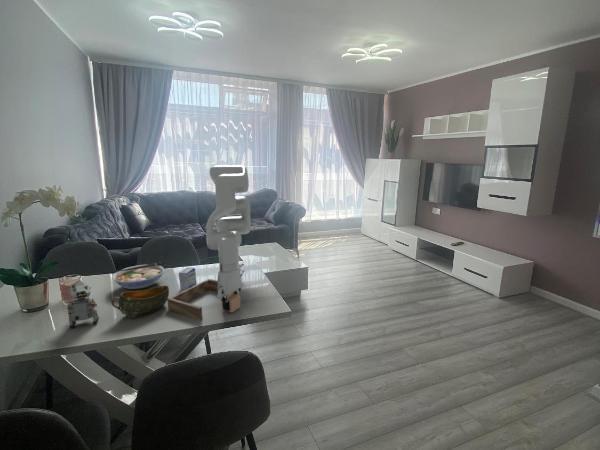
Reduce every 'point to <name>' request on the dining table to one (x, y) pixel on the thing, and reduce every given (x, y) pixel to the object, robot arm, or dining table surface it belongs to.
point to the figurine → (81, 305)
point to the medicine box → (187, 278)
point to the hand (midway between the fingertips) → (231, 306)
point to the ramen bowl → (138, 276)
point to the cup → (142, 301)
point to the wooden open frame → (180, 299)
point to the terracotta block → (233, 302)
